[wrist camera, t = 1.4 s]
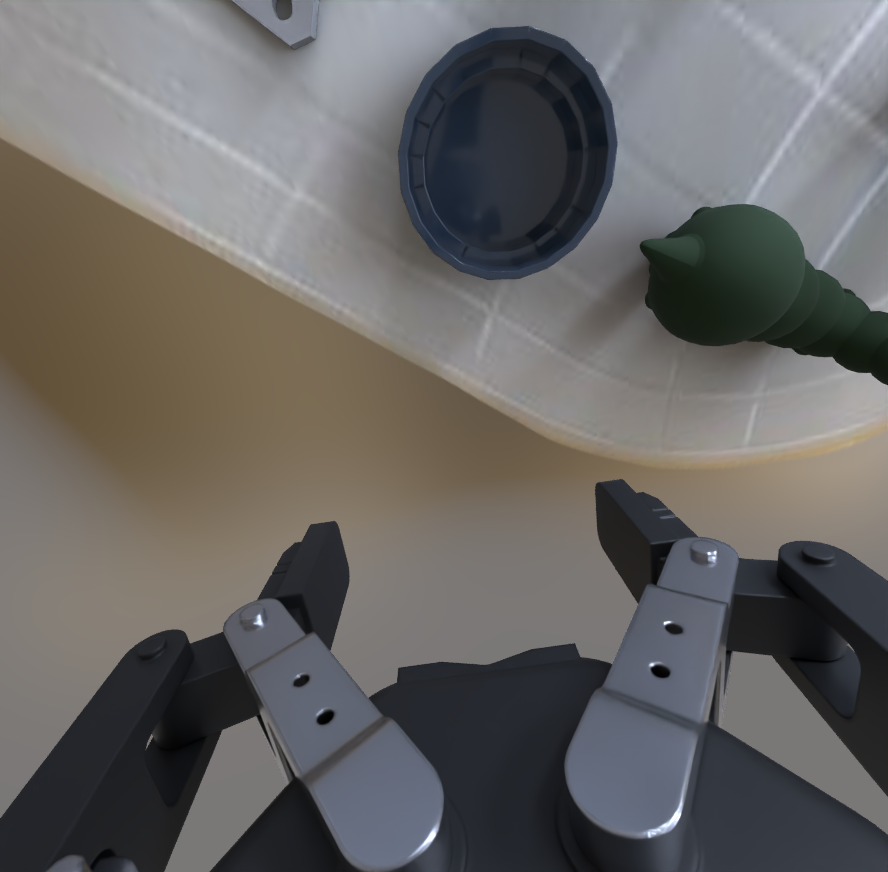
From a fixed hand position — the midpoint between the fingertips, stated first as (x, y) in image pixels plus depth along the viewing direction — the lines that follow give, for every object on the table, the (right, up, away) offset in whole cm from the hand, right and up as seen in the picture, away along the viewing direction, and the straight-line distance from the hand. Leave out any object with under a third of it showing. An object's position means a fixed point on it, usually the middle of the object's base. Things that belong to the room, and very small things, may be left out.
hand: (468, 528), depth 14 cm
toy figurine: (+24, +16, +25) cm, 38 cm away
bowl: (+3, +23, +21) cm, 31 cm away
